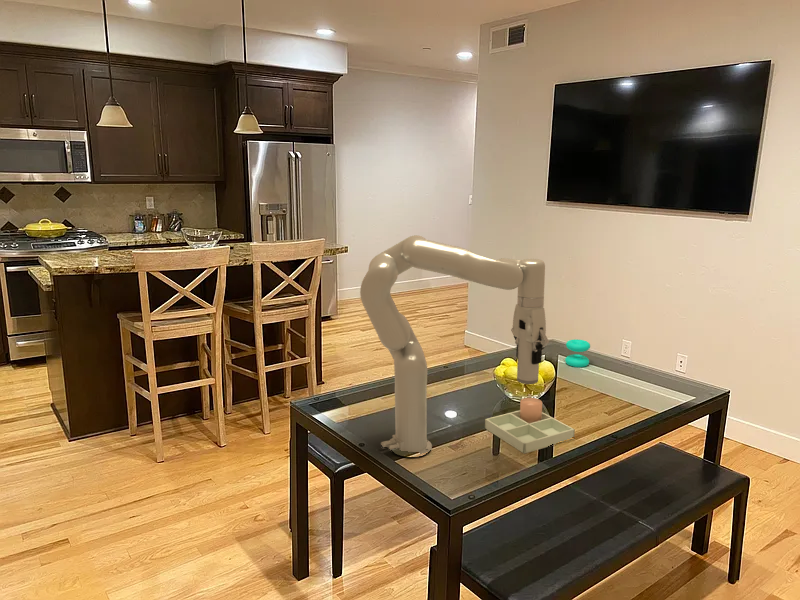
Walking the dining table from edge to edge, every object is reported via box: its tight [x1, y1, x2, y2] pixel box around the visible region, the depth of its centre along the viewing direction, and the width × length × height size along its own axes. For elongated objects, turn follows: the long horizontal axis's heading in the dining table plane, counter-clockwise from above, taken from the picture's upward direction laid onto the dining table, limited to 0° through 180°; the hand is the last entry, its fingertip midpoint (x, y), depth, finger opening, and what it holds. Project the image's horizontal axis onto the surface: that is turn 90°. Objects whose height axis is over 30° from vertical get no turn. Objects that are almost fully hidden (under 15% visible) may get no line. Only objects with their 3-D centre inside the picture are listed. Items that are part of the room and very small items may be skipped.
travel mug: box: [516, 319, 540, 385], centre depth 175 cm, size 6×7×20 cm
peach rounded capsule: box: [519, 397, 543, 423], centre depth 194 cm, size 7×7×8 cm
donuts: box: [564, 338, 591, 368], centre depth 254 cm, size 10×10×10 cm
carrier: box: [484, 409, 575, 454], centre depth 188 cm, size 20×20×4 cm
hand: (528, 359), depth 176 cm, fingers closed on travel mug, 6 cm apart
